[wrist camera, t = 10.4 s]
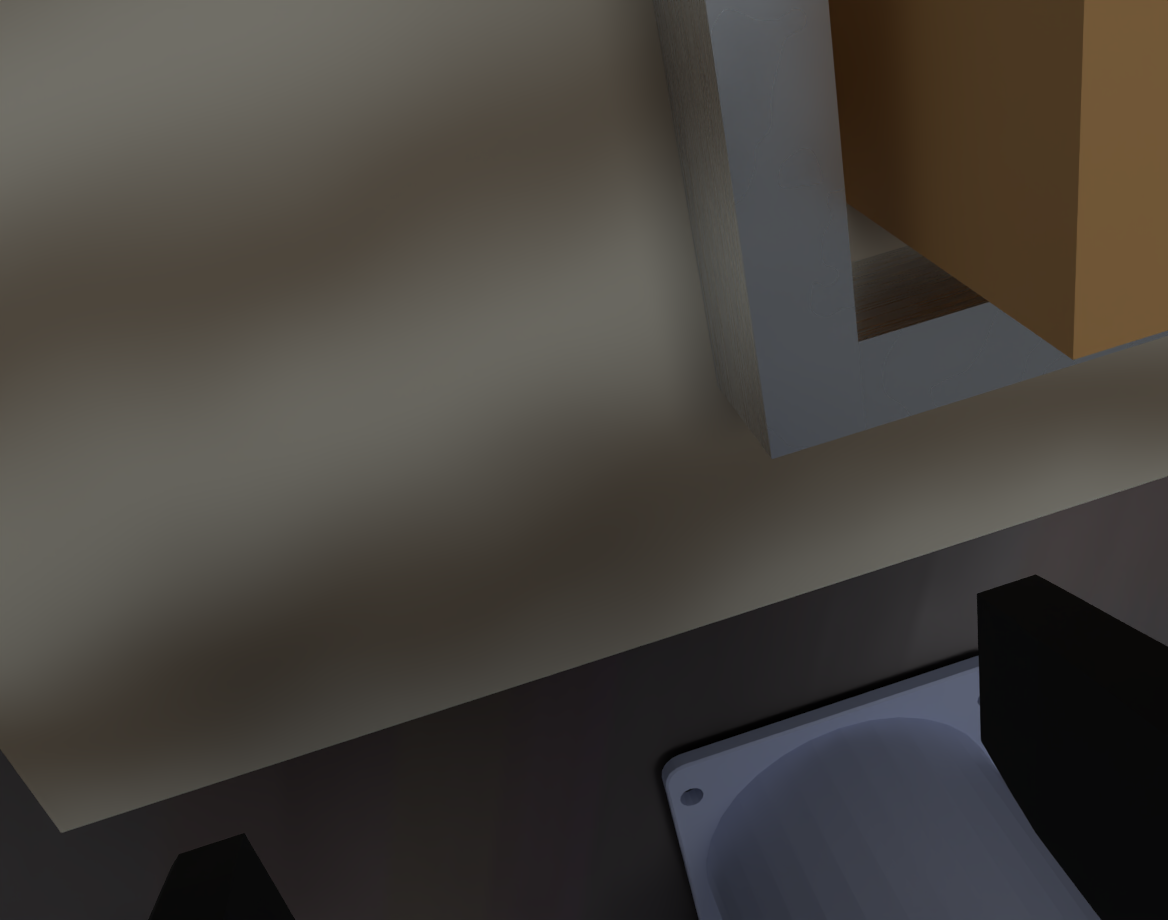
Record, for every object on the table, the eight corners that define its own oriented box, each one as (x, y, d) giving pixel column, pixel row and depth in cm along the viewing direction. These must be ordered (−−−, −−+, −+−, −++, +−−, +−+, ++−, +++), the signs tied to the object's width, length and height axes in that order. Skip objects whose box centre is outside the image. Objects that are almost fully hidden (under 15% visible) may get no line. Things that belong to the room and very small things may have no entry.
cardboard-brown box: (1079, 134, 18) (1395, 259, 12) (846, 202, 17) (1073, 360, 12) (1090, -226, 15) (1499, -254, 10) (815, -153, 15) (1088, -140, 9)
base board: (1556, 316, 23) (1604, 335, 22) (71, 791, 21) (60, 832, 20) (1934, -961, 14) (2042, -1014, 13) (-732, -359, 11) (-815, -372, 10)
